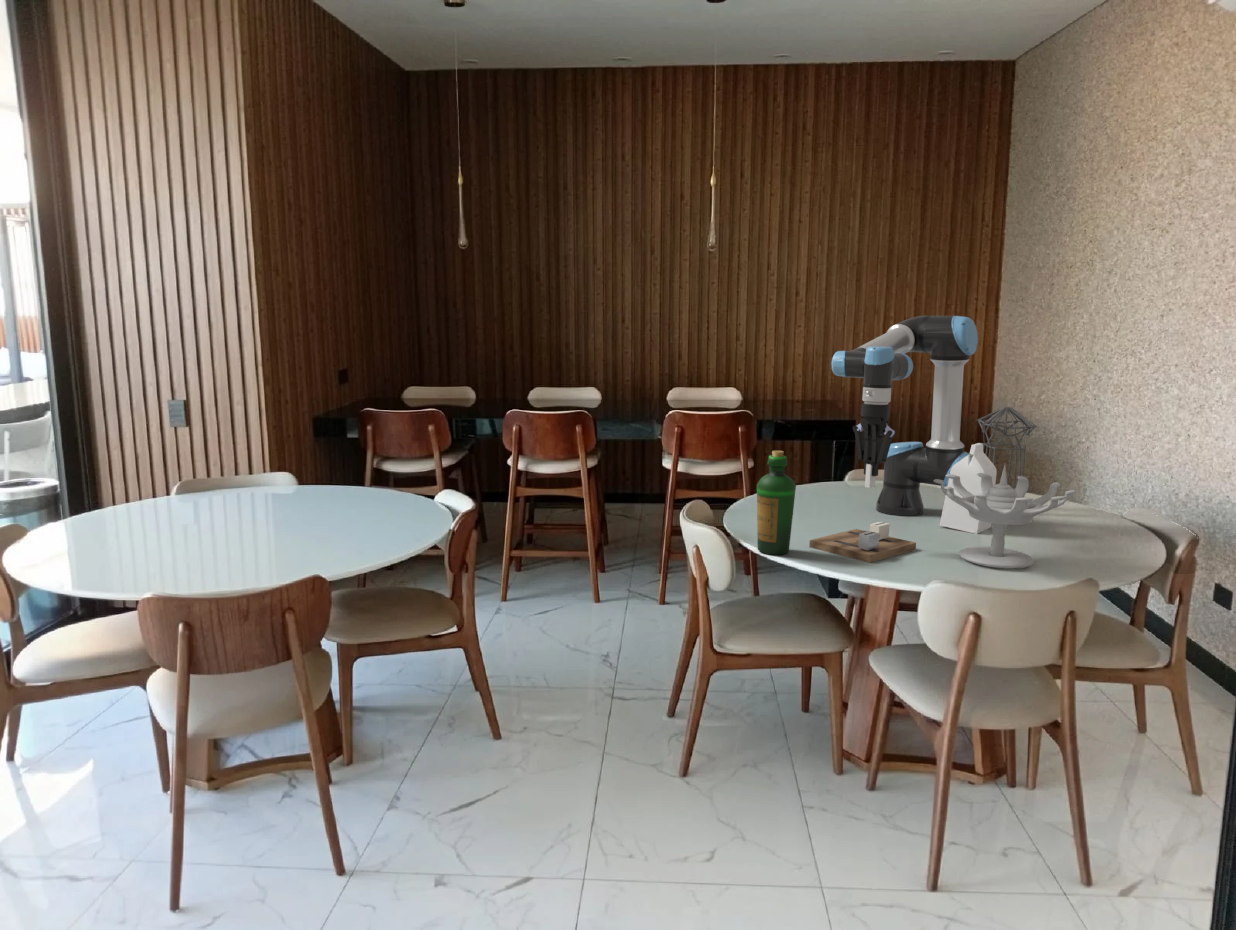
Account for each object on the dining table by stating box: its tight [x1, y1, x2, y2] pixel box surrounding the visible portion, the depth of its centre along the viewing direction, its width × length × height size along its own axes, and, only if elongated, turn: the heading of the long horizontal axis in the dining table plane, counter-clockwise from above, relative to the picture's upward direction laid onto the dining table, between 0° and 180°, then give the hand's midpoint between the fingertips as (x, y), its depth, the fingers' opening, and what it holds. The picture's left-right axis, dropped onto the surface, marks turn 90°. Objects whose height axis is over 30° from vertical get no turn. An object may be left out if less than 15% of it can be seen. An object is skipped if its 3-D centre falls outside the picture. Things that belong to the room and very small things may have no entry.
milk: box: [939, 442, 997, 535], centre depth 281 cm, size 12×12×26 cm
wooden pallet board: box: [808, 528, 917, 563], centre depth 256 cm, size 20×22×2 cm
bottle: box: [756, 450, 797, 556], centre depth 249 cm, size 11×11×28 cm
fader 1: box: [859, 530, 880, 550], centre depth 248 cm, size 3×5×4 cm, turn 130°
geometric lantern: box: [976, 406, 1038, 489], centre depth 307 cm, size 16×16×35 cm
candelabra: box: [933, 464, 1077, 570], centre depth 243 cm, size 34×35×27 cm
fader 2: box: [869, 521, 890, 540], centre depth 259 cm, size 3×5×4 cm, turn 130°
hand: (869, 486), depth 255 cm, fingers closed
